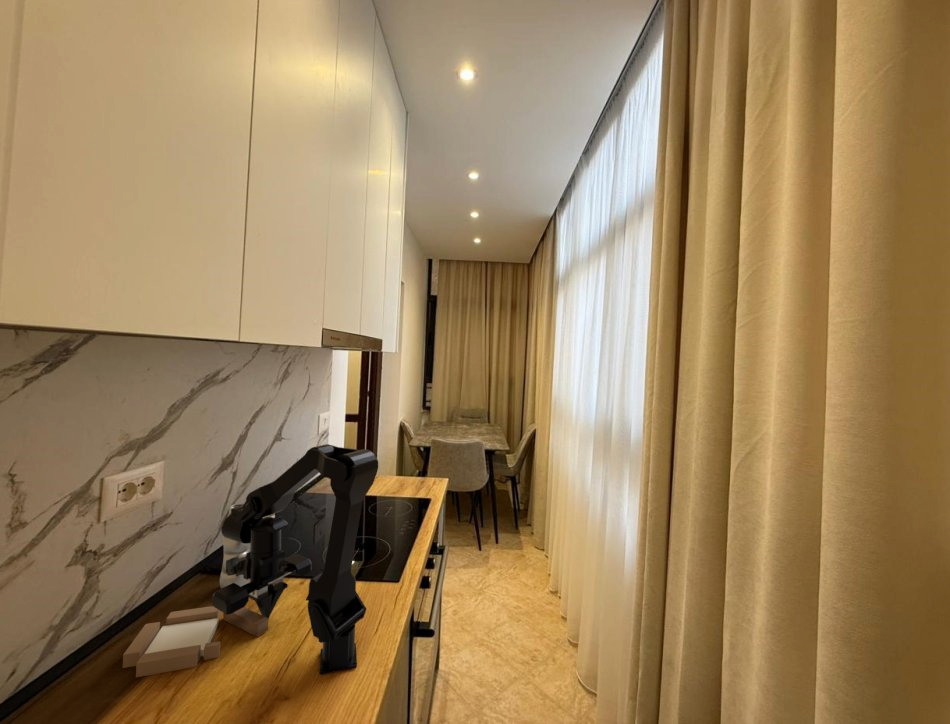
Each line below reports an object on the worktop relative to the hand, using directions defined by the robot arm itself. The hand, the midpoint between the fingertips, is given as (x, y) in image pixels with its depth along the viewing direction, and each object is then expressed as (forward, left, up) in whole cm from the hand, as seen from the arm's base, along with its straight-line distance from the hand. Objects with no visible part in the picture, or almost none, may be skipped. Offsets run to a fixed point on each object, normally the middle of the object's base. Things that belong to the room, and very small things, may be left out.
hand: (265, 620), depth 85 cm
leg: (+1, +4, -1) cm, 4 cm away
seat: (-2, +14, -1) cm, 15 cm away
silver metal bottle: (+17, +9, -1) cm, 20 cm away
